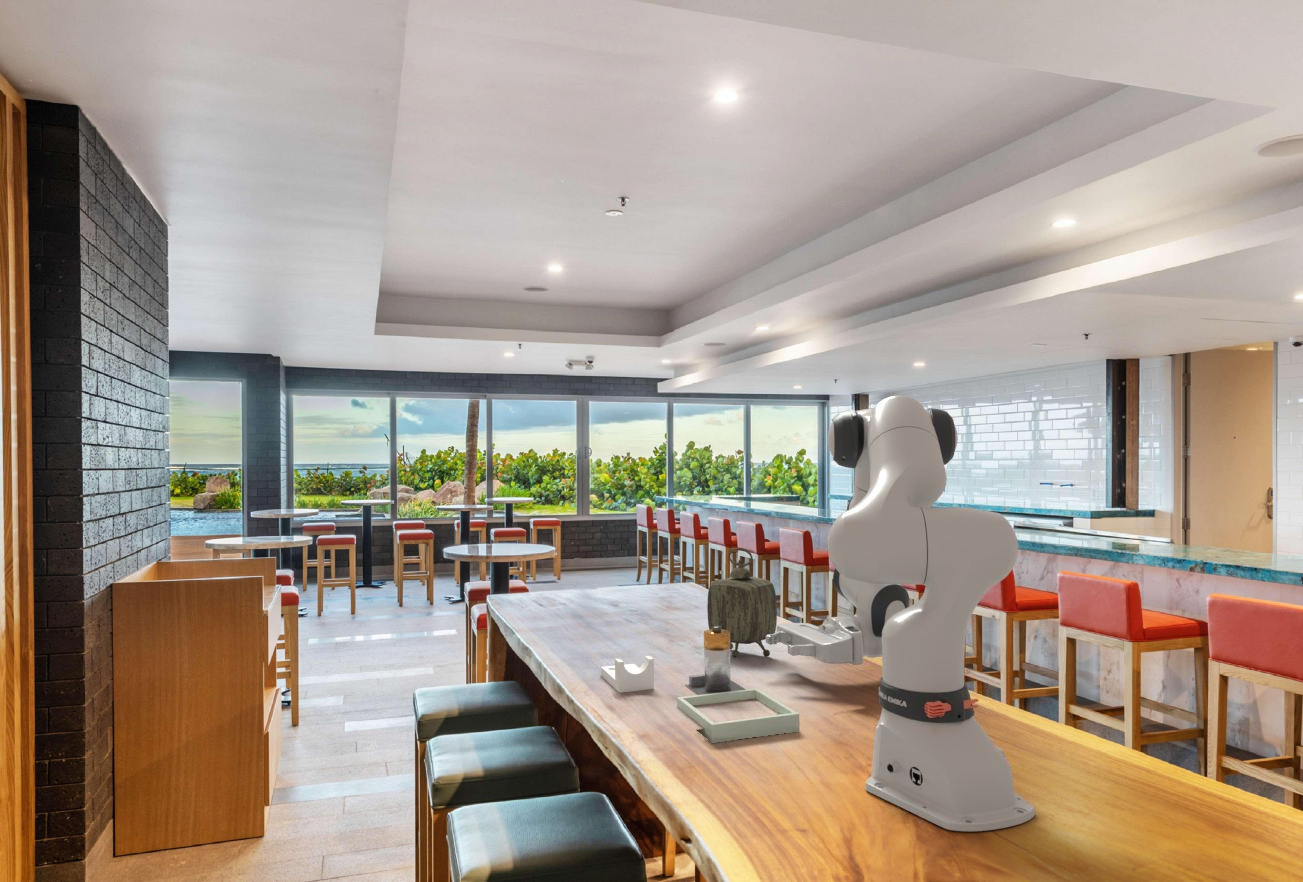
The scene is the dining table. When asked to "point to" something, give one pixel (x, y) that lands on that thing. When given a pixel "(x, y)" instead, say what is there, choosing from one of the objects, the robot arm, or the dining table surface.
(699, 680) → the block
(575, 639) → the dining table surface
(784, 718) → the tray
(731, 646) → the tabletop clock
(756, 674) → the dining table surface
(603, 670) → the bracket
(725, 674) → the battery cell
